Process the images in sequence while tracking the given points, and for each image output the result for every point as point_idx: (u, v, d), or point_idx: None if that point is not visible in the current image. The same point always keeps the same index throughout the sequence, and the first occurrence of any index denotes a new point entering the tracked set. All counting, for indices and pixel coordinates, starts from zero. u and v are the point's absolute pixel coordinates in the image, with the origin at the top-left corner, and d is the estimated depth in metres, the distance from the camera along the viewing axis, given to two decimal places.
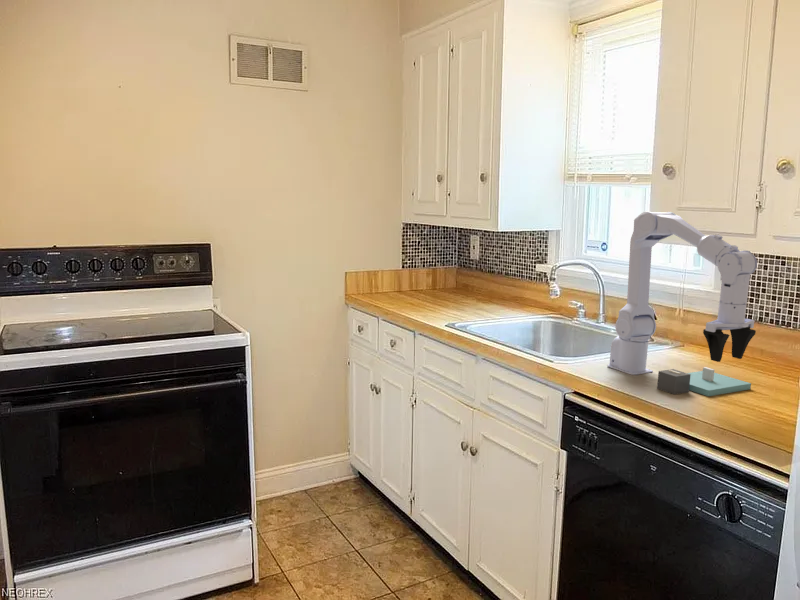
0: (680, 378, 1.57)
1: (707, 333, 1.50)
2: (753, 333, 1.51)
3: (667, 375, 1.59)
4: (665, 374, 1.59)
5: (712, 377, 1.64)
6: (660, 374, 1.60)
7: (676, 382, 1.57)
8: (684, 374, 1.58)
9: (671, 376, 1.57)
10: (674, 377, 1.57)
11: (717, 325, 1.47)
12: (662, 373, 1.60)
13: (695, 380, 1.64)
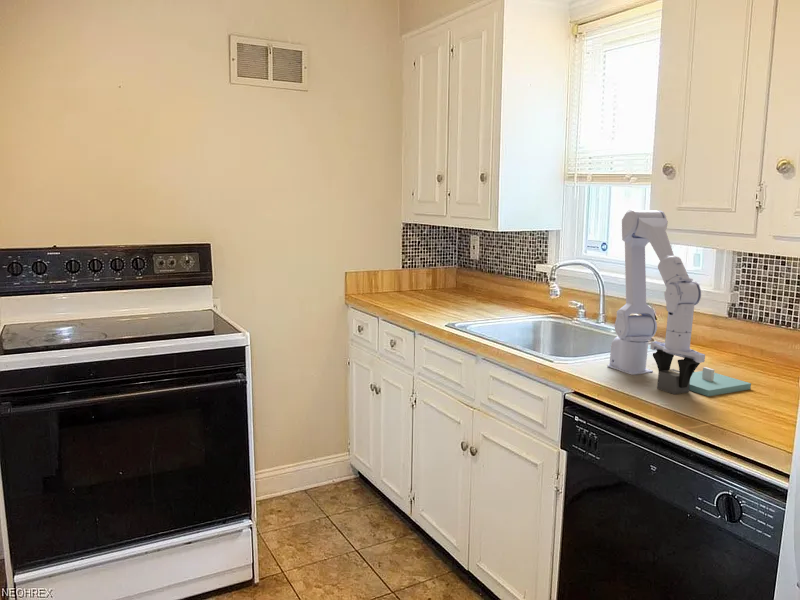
0: None
1: None
2: (682, 363, 1.54)
3: (667, 375, 1.59)
4: (665, 374, 1.59)
5: (712, 377, 1.64)
6: (660, 374, 1.60)
7: (676, 382, 1.57)
8: None
9: (671, 376, 1.57)
10: (674, 377, 1.57)
11: (654, 344, 1.64)
12: (662, 373, 1.60)
13: (695, 380, 1.64)
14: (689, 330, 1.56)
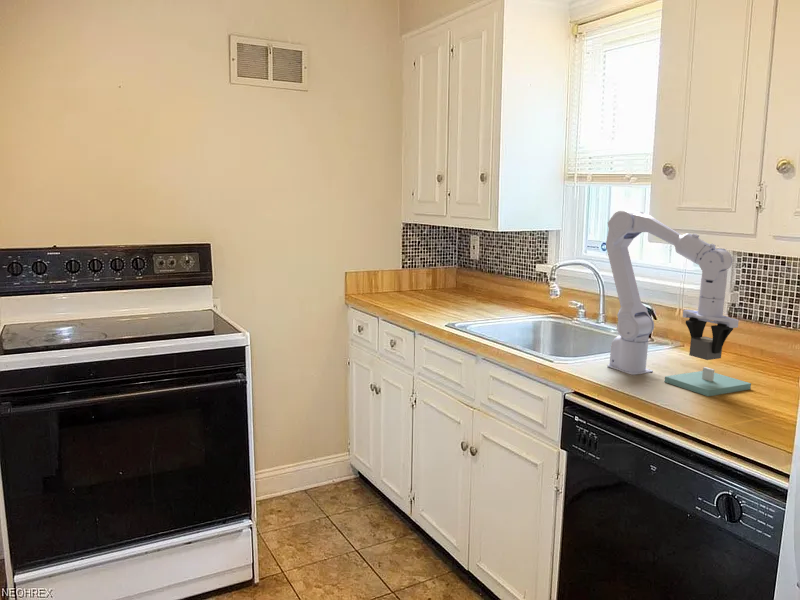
0: None
1: None
2: (715, 329, 1.57)
3: (700, 341, 1.61)
4: (698, 341, 1.62)
5: (712, 377, 1.64)
6: (692, 341, 1.63)
7: (709, 348, 1.60)
8: None
9: (704, 342, 1.60)
10: (707, 343, 1.60)
11: (686, 312, 1.67)
12: (695, 340, 1.63)
13: (695, 380, 1.64)
14: (724, 296, 1.60)
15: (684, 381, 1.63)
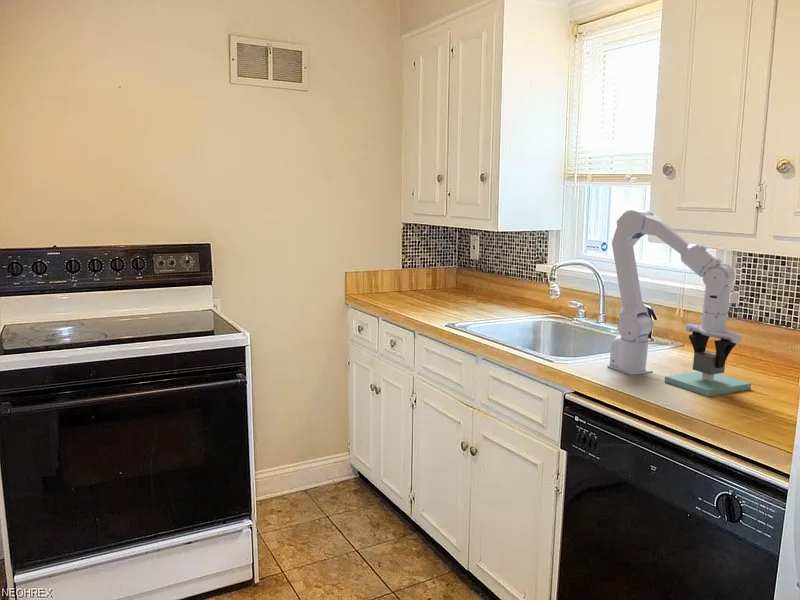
0: None
1: None
2: (719, 344, 1.59)
3: (703, 356, 1.63)
4: (701, 355, 1.63)
5: (712, 377, 1.64)
6: (696, 355, 1.65)
7: (712, 363, 1.61)
8: None
9: (707, 357, 1.62)
10: (710, 358, 1.61)
11: (689, 326, 1.68)
12: (698, 354, 1.64)
13: (695, 380, 1.64)
14: (727, 311, 1.61)
15: (684, 381, 1.63)
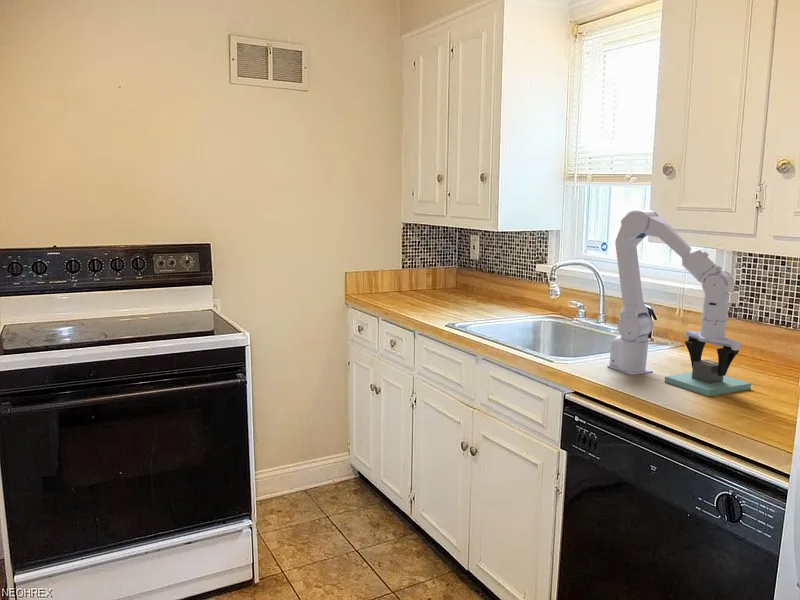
0: (715, 368, 1.62)
1: None
2: (721, 352, 1.58)
3: (702, 365, 1.63)
4: (700, 364, 1.64)
5: None
6: (695, 364, 1.65)
7: (711, 372, 1.61)
8: None
9: (706, 366, 1.62)
10: (709, 367, 1.61)
11: (689, 333, 1.68)
12: (697, 363, 1.65)
13: (695, 380, 1.64)
14: (726, 318, 1.62)
15: (684, 381, 1.63)
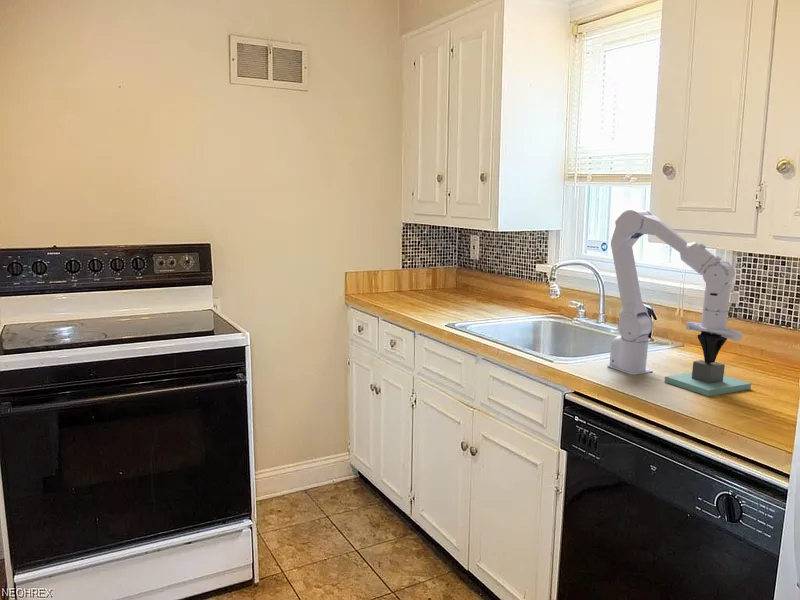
0: (715, 368, 1.62)
1: None
2: (710, 339, 1.61)
3: (702, 365, 1.63)
4: (700, 364, 1.64)
5: None
6: (695, 364, 1.65)
7: (711, 372, 1.61)
8: (719, 364, 1.63)
9: (706, 366, 1.62)
10: (709, 367, 1.61)
11: (690, 324, 1.68)
12: (697, 363, 1.65)
13: (695, 380, 1.64)
14: None
15: (684, 381, 1.63)
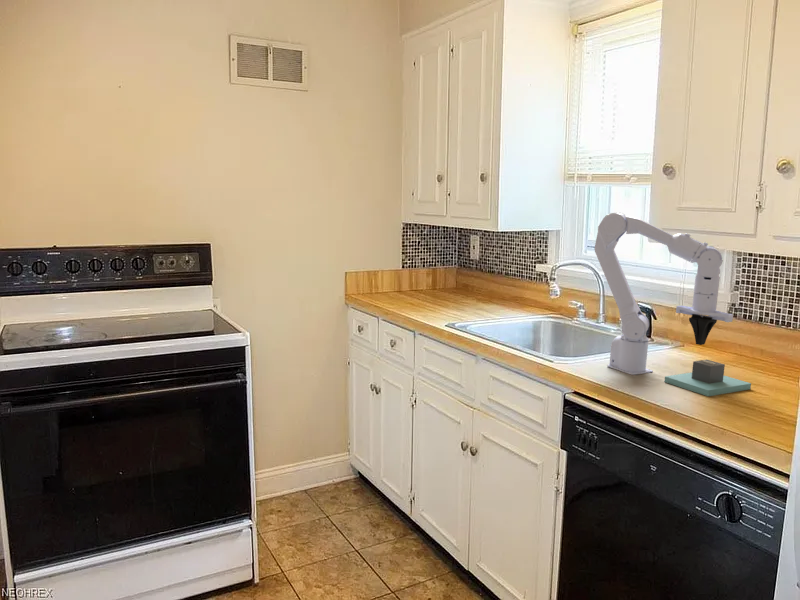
0: (715, 368, 1.62)
1: None
2: (702, 322, 1.66)
3: (702, 365, 1.63)
4: (700, 364, 1.64)
5: None
6: (695, 364, 1.65)
7: (711, 372, 1.61)
8: (718, 364, 1.63)
9: (706, 366, 1.62)
10: (709, 367, 1.61)
11: (680, 308, 1.73)
12: (697, 363, 1.65)
13: (695, 380, 1.64)
14: None
15: (684, 381, 1.63)
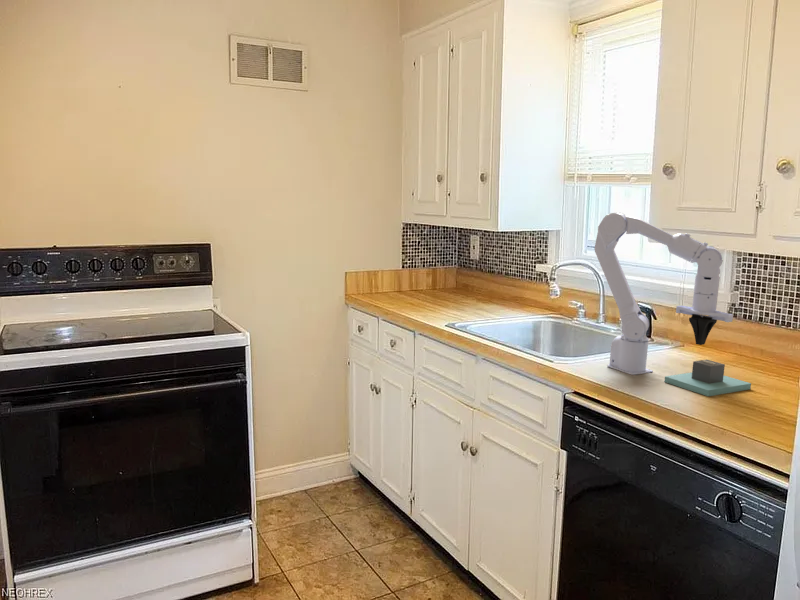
0: (715, 368, 1.62)
1: None
2: (702, 322, 1.66)
3: (702, 365, 1.63)
4: (700, 364, 1.64)
5: None
6: (695, 364, 1.65)
7: (711, 372, 1.61)
8: (718, 364, 1.63)
9: (706, 366, 1.62)
10: (709, 367, 1.61)
11: (680, 308, 1.73)
12: (697, 363, 1.65)
13: (695, 380, 1.64)
14: None
15: (684, 381, 1.63)
